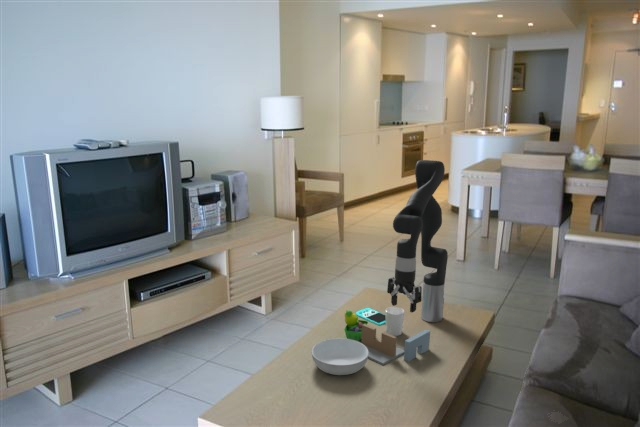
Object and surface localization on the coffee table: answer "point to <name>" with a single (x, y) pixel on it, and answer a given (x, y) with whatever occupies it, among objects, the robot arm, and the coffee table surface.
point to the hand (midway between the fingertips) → (403, 308)
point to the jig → (380, 345)
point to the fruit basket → (353, 326)
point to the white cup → (394, 320)
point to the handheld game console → (372, 316)
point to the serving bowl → (340, 356)
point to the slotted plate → (416, 345)
